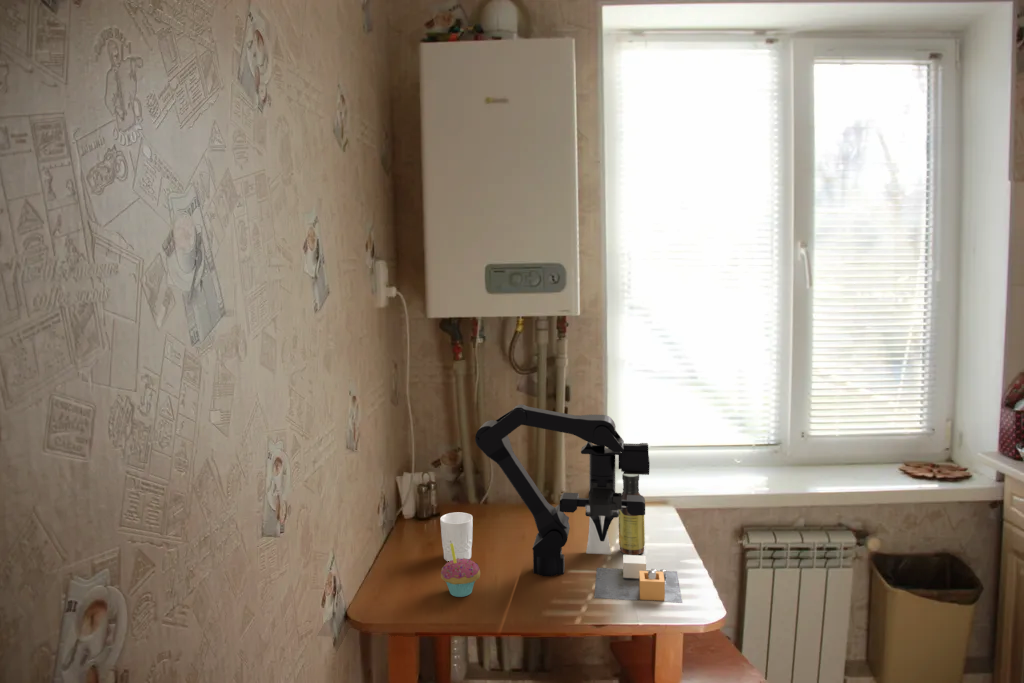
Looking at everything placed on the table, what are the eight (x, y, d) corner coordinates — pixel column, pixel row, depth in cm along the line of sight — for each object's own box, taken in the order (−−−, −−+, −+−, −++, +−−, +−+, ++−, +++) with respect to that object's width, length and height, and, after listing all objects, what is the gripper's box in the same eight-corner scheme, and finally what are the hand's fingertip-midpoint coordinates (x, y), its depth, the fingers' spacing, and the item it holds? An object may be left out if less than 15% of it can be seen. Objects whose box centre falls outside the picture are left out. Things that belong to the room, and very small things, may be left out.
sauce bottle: (627, 544, 180) (627, 467, 178) (649, 550, 176) (649, 472, 174) (613, 552, 175) (613, 474, 173) (636, 559, 171) (636, 478, 169)
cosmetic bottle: (599, 546, 179) (599, 461, 177) (616, 554, 174) (615, 466, 172) (581, 552, 176) (580, 465, 173) (597, 560, 171) (596, 471, 168)
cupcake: (448, 604, 150) (446, 549, 149) (436, 587, 158) (434, 535, 157) (486, 596, 154) (485, 542, 152) (472, 580, 161) (471, 529, 160)
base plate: (594, 603, 149) (593, 574, 149) (596, 572, 164) (596, 546, 163) (682, 608, 146) (682, 579, 146) (677, 576, 161) (677, 550, 160)
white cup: (459, 548, 180) (458, 509, 179) (480, 557, 174) (479, 517, 173) (434, 557, 174) (433, 518, 173) (455, 567, 169) (454, 526, 168)
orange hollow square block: (640, 599, 148) (640, 580, 148) (639, 588, 153) (639, 570, 153) (664, 600, 147) (664, 582, 147) (663, 589, 152) (663, 571, 152)
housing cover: (623, 577, 158) (623, 562, 157) (623, 569, 162) (623, 554, 162) (646, 578, 157) (646, 563, 157) (645, 570, 161) (645, 555, 161)
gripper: (557, 482, 152) (557, 553, 153) (646, 485, 149) (645, 557, 151) (561, 467, 163) (561, 533, 164) (644, 470, 160) (644, 537, 161)
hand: (602, 540), depth 160 cm, fingers closed
